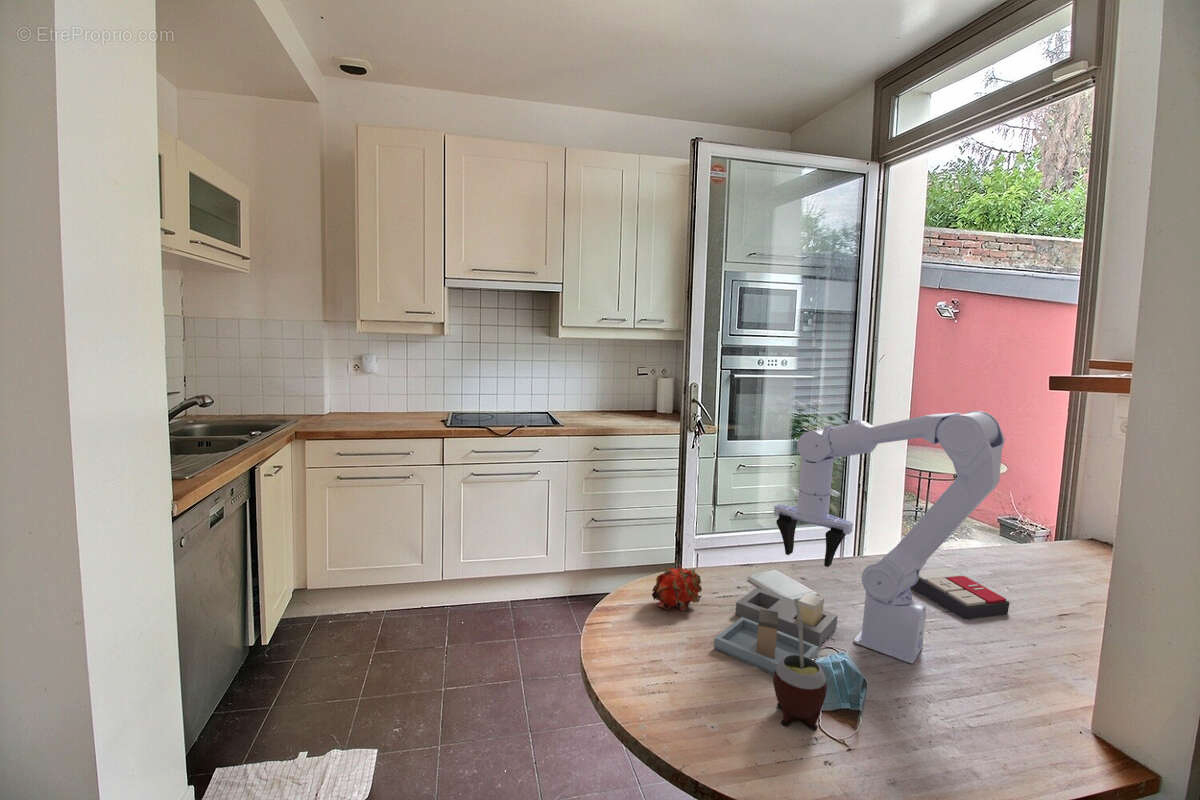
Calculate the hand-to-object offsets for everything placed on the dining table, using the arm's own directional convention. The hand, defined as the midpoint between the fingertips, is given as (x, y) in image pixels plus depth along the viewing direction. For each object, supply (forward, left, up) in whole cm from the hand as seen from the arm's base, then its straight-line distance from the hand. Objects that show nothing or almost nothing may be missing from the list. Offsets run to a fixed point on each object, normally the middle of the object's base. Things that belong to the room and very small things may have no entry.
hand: (808, 559), depth 112 cm
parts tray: (-1, +20, -10) cm, 23 cm away
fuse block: (+1, +7, -10) cm, 13 cm away
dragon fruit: (+19, +17, -11) cm, 28 cm away
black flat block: (-21, -28, -11) cm, 37 cm away
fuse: (-4, +7, -11) cm, 13 cm away
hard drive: (+7, -6, -11) cm, 15 cm away
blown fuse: (-1, +20, -10) cm, 22 cm away
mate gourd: (-11, +32, -11) cm, 35 cm away
